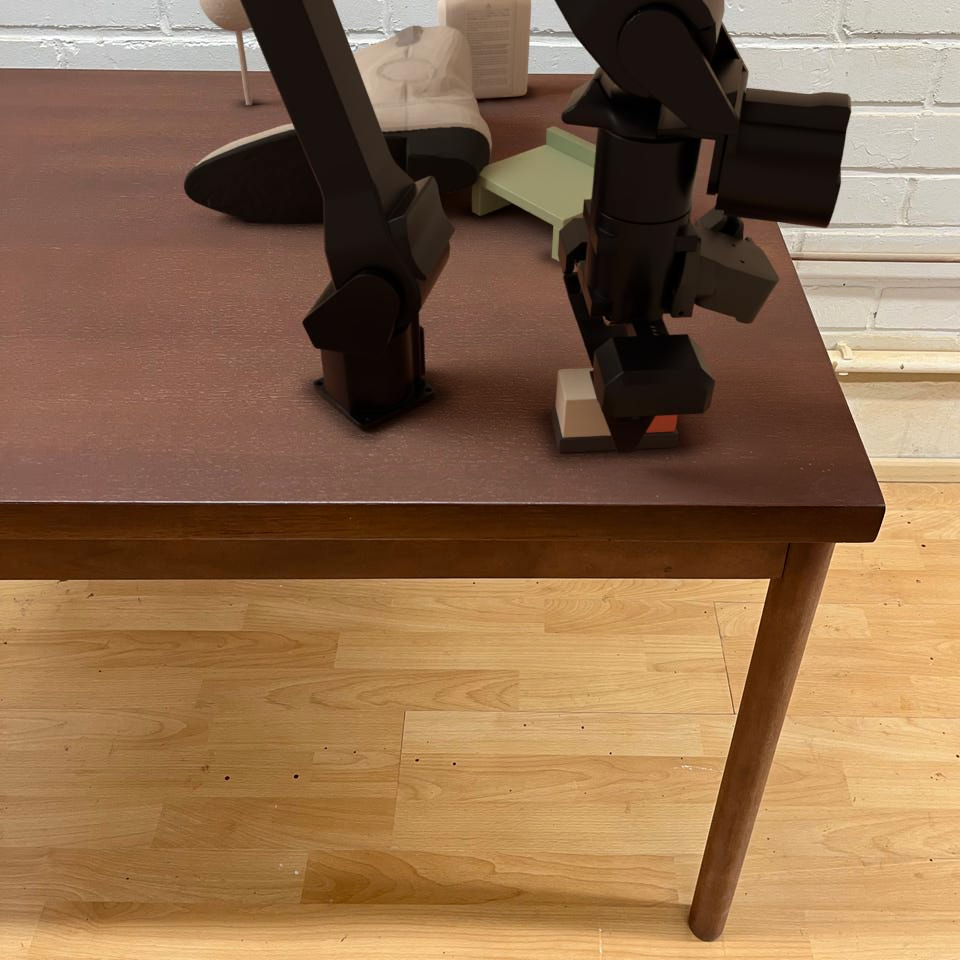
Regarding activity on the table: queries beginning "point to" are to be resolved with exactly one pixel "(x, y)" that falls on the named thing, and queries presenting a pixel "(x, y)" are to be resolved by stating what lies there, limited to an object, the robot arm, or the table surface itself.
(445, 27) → the cowboy boot
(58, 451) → the table surface
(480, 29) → the white printed package
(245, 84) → the lollipop
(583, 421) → the block
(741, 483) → the table surface
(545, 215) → the shoe shelf
